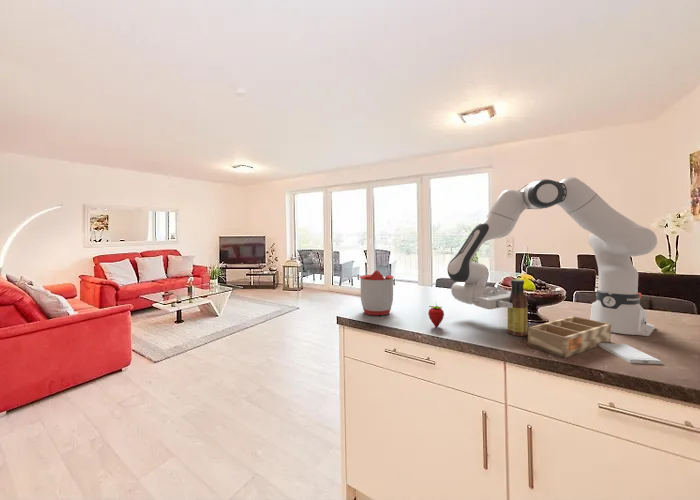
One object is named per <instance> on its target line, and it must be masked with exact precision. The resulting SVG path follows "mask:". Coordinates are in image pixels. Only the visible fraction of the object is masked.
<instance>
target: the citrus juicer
mask: <svg viewBox="0 0 700 500" xmlns="http://www.w3.org/2000/svg"><path fill="white" fill-rule="evenodd" d="M359 278H360V301H361V306H362V309H363V312H364V314H366V315H369V316H379V315H383V316H385V315H388V314H390V312H391V309H392V306H393V301H394V276H392V275H385V276H383V275H382V273H381V272H380V271H379V270H374V272H373V273H372V274H365V275H360V276H359Z"/></svg>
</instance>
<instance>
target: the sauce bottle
mask: <svg viewBox="0 0 700 500" xmlns="http://www.w3.org/2000/svg"><path fill="white" fill-rule="evenodd" d="M510 284H511V290H510V291H511V294H510V297H509V299H508V302H511V303H514V308H507V333H509V334H511V335H512V336H516V337H525V336H527V335H528V299H527V297H526V295H525V293H524V291H525V290H524V285H525V280H524V279H519V278H518V279H516V278H515V279H511V280H510Z"/></svg>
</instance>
